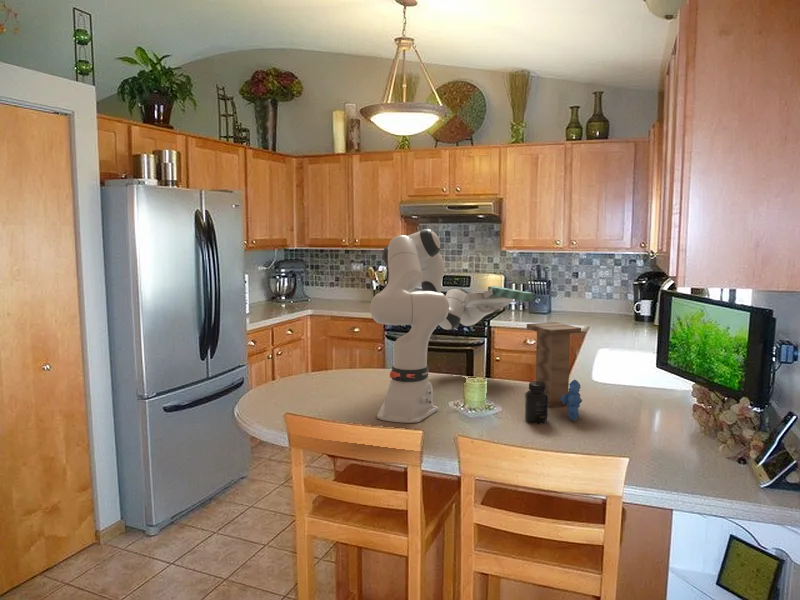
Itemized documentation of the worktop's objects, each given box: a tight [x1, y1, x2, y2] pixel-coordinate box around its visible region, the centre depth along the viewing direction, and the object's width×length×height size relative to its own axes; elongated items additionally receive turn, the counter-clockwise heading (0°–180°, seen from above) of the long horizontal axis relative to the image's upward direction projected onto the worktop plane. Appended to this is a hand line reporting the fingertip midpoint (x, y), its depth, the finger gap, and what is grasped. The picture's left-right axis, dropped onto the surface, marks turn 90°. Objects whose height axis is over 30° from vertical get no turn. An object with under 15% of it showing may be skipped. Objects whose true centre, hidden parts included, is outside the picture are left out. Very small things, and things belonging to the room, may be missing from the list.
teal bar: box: [487, 285, 534, 303], centre depth 221 cm, size 26×3×3 cm, turn 22°
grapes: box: [560, 379, 583, 421], centre depth 185 cm, size 12×7×12 cm, turn 160°
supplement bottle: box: [524, 380, 549, 425], centre depth 182 cm, size 7×7×12 cm
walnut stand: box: [524, 321, 582, 409], centre depth 203 cm, size 14×12×26 cm
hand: (497, 290), depth 229 cm, fingers closed on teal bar, 3 cm apart
